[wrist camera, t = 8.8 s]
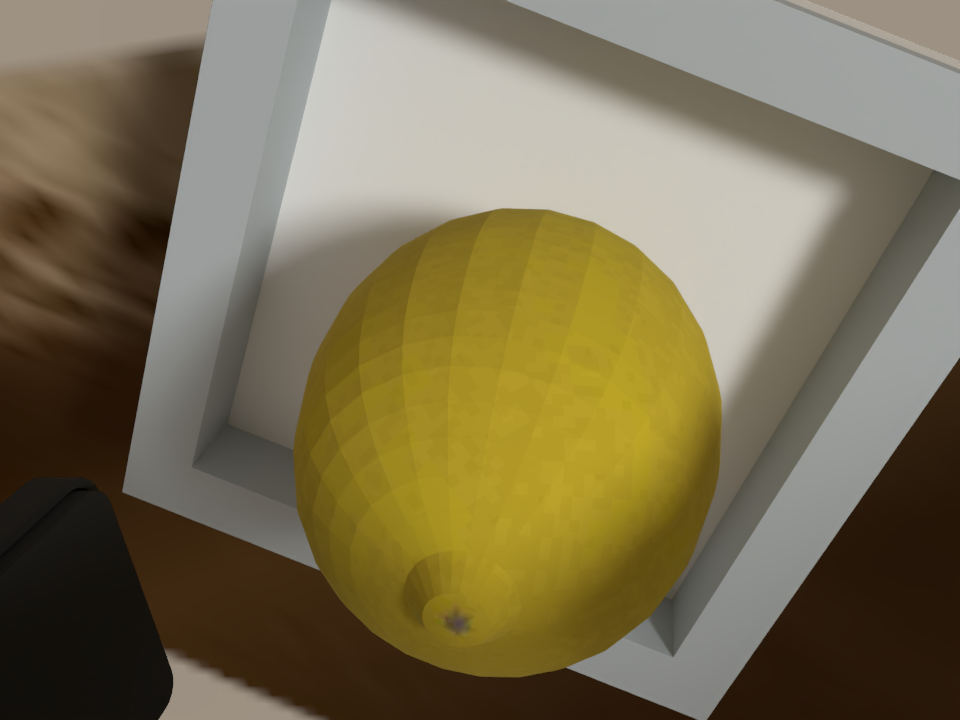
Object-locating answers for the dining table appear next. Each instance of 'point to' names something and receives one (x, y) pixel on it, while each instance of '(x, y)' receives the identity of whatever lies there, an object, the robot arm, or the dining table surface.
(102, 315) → the dining table surface
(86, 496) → the robot arm
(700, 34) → the tray
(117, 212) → the dining table surface
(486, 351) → the lemon
